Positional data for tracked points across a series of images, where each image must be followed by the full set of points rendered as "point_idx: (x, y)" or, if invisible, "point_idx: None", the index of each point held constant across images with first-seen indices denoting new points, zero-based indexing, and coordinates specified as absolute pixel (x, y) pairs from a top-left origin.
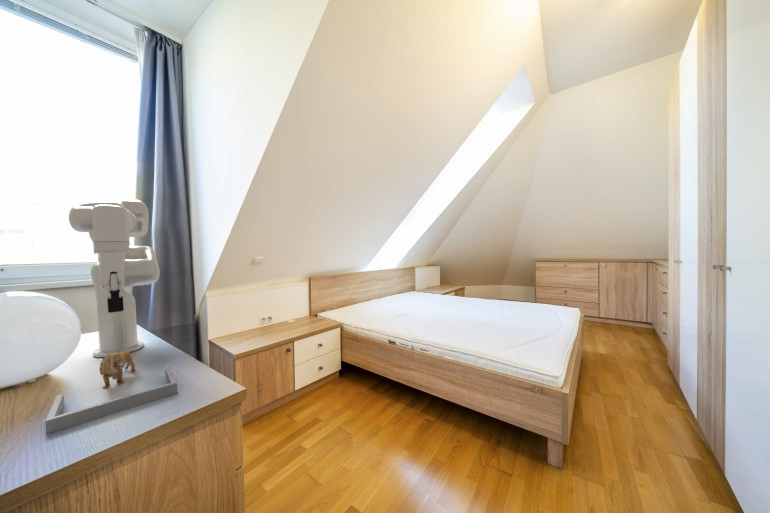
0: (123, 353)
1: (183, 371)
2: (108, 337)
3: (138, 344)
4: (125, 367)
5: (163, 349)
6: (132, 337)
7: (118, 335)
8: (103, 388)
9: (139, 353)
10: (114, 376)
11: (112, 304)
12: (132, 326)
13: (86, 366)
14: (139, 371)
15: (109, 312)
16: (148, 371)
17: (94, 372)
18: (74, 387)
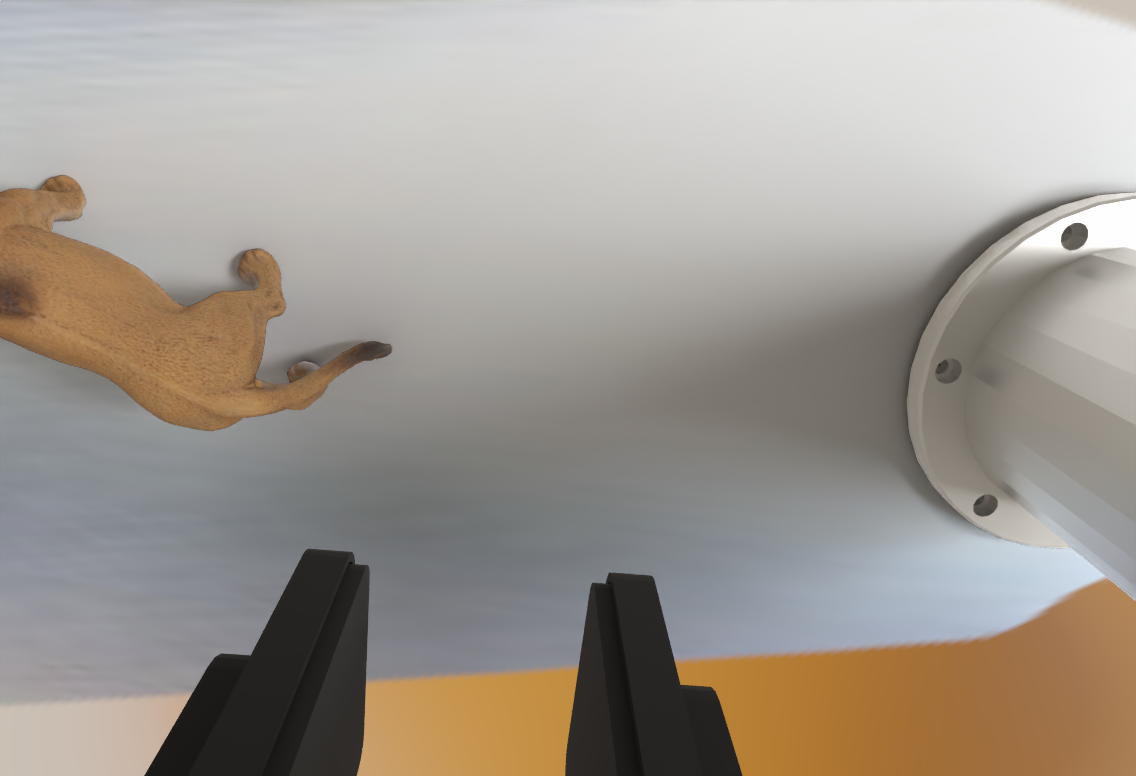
0: (132, 385)
1: (11, 607)
2: (1119, 350)
3: (1019, 511)
4: (356, 349)
5: (732, 615)
6: (1038, 516)
7: (1068, 434)
8: (56, 177)
9: (804, 475)
10: (241, 263)
11: (160, 751)
12: (1130, 594)
13: (834, 123)
14: None
15: (306, 558)
16: (217, 452)
17: (570, 160)
18: (277, 13)
